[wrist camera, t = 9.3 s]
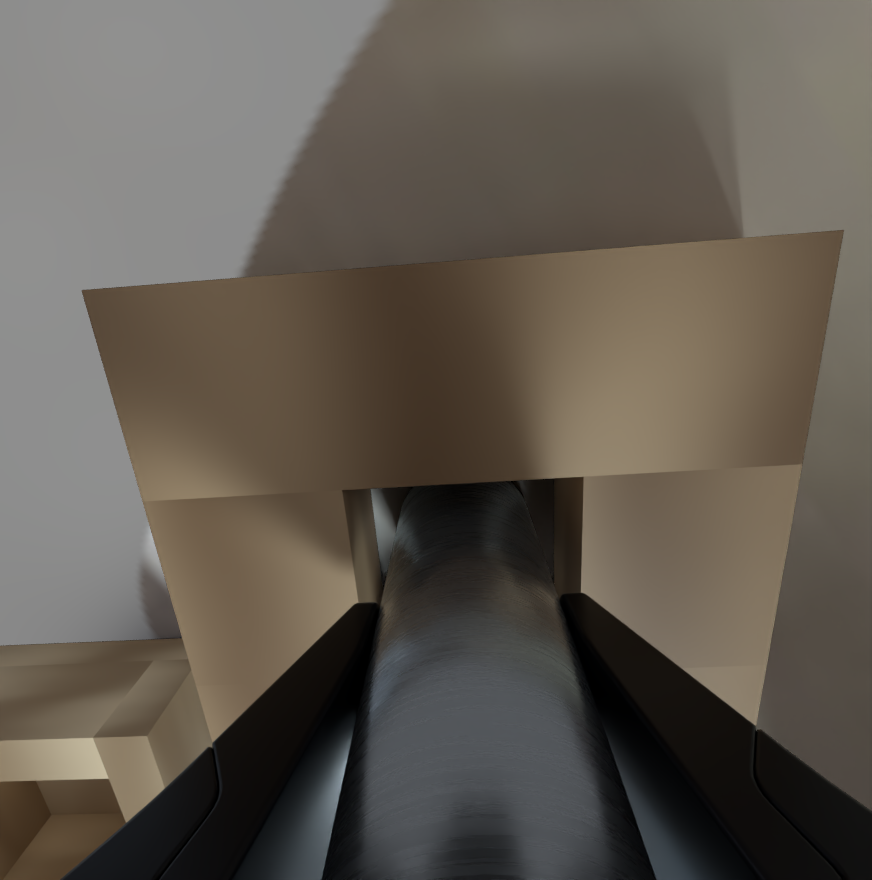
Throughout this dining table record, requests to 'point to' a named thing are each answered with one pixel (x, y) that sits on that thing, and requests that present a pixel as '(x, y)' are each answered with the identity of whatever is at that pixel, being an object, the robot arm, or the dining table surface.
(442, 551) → the grey metal cylinder
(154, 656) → the rack
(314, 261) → the dining table surface
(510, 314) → the socket block
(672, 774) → the robot arm
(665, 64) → the dining table surface
